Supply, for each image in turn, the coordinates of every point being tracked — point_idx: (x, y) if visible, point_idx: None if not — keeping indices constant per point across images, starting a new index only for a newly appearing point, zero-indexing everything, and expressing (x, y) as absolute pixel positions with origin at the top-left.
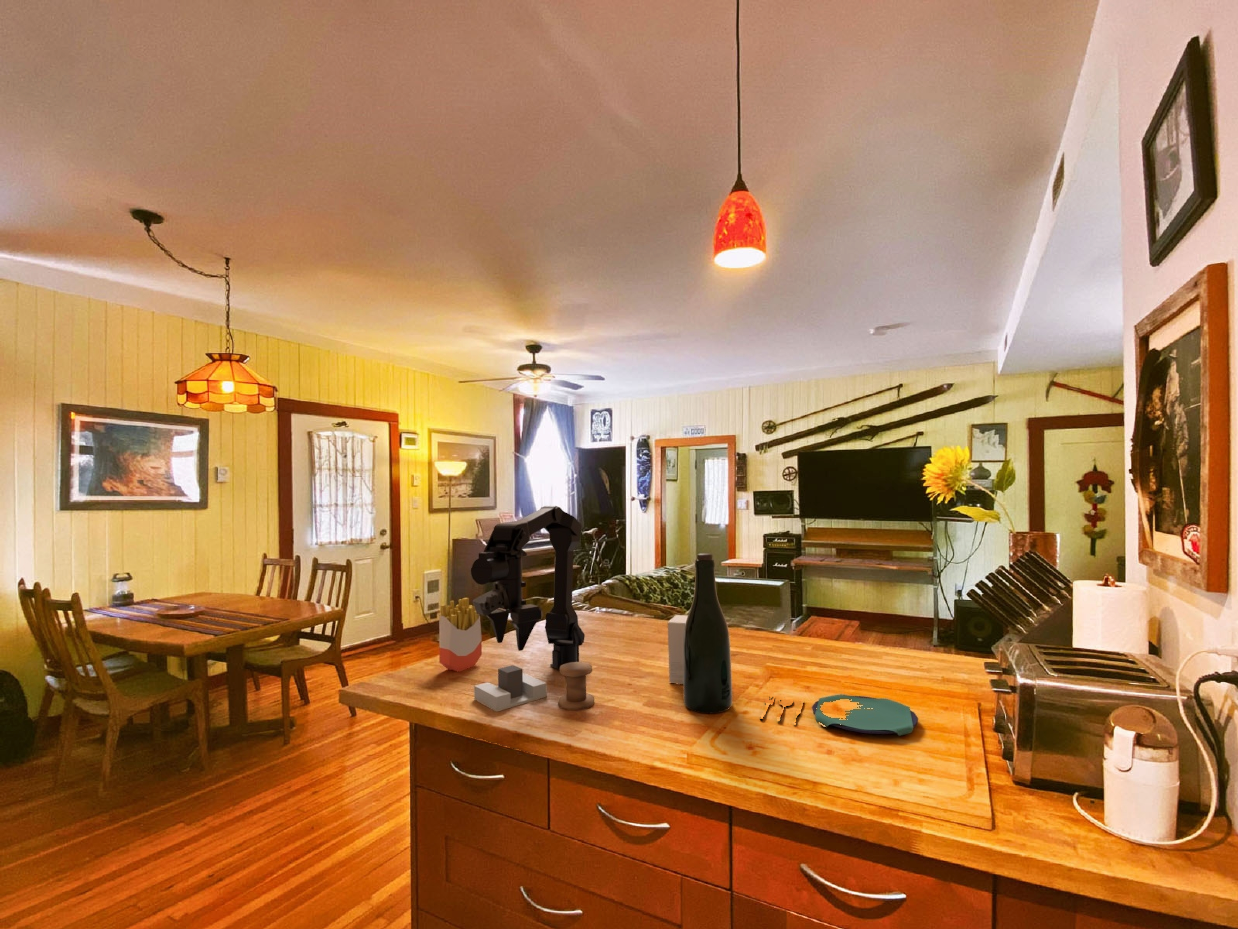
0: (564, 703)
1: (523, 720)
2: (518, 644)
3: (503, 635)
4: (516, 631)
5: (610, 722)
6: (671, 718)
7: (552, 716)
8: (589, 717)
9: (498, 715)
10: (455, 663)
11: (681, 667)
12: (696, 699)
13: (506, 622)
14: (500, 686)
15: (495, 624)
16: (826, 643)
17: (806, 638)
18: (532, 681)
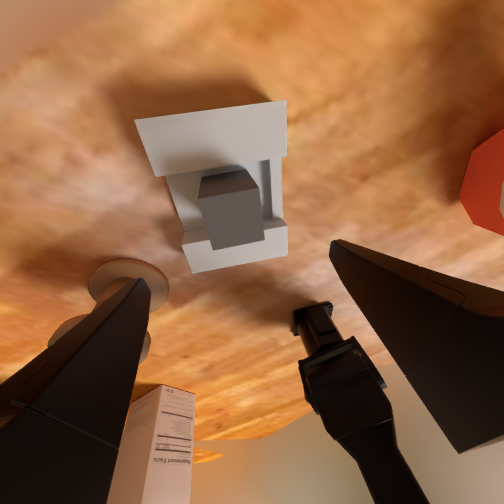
0: (108, 268)
1: (54, 161)
2: (107, 300)
3: (345, 282)
4: (32, 385)
5: (5, 301)
6: (12, 363)
7: (68, 229)
8: (43, 282)
9: (116, 113)
10: (502, 145)
11: (143, 418)
12: None
13: (393, 353)
14: (238, 176)
15: (424, 299)
16: (202, 460)
17: (222, 455)
18: (219, 253)
